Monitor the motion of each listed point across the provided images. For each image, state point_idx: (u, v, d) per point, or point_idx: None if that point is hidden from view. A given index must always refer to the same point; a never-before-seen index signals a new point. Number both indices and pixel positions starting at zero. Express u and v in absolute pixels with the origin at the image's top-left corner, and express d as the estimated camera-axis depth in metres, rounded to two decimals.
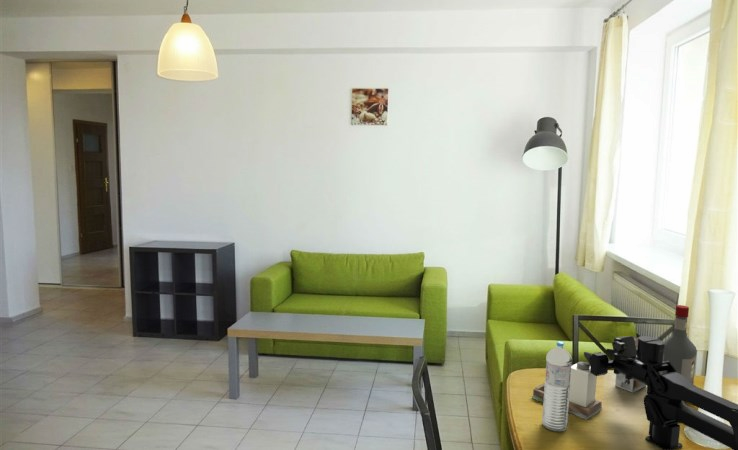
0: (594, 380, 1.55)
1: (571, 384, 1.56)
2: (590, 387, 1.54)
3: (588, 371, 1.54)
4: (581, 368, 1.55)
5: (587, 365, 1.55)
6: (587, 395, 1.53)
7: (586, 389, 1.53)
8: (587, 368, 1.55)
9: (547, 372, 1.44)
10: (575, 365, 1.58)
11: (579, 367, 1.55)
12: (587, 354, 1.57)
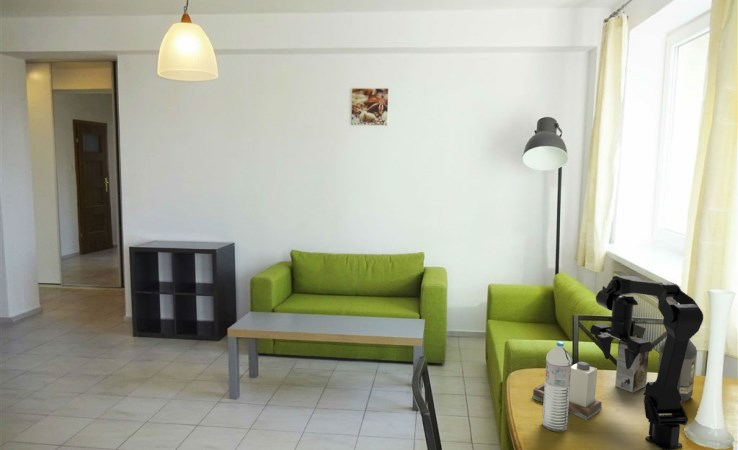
0: (594, 380, 1.55)
1: (571, 384, 1.56)
2: (590, 387, 1.54)
3: (588, 371, 1.54)
4: (581, 368, 1.55)
5: (587, 365, 1.55)
6: (587, 395, 1.53)
7: (586, 389, 1.53)
8: (587, 368, 1.55)
9: (547, 372, 1.44)
10: (575, 365, 1.58)
11: (579, 367, 1.55)
12: None
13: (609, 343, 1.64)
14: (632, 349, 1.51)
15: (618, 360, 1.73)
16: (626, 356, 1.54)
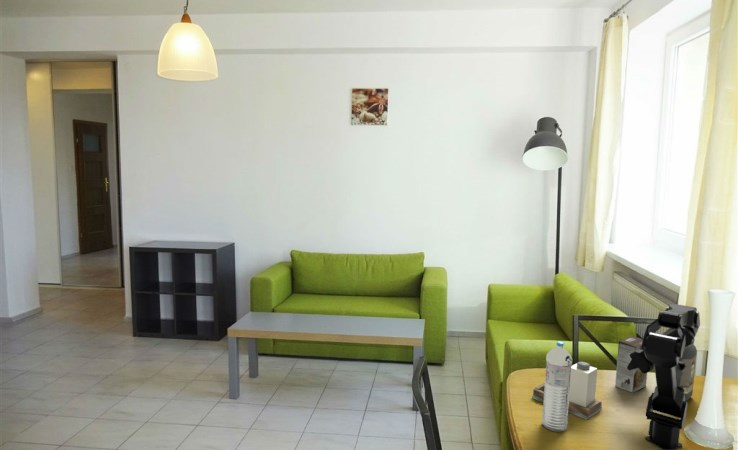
0: (594, 380, 1.55)
1: (571, 384, 1.56)
2: (590, 387, 1.54)
3: (588, 371, 1.54)
4: (581, 368, 1.55)
5: (587, 365, 1.55)
6: (587, 395, 1.53)
7: (586, 389, 1.53)
8: (587, 368, 1.55)
9: (547, 372, 1.44)
10: (575, 365, 1.58)
11: (579, 367, 1.55)
12: None
13: None
14: None
15: (618, 360, 1.73)
16: None
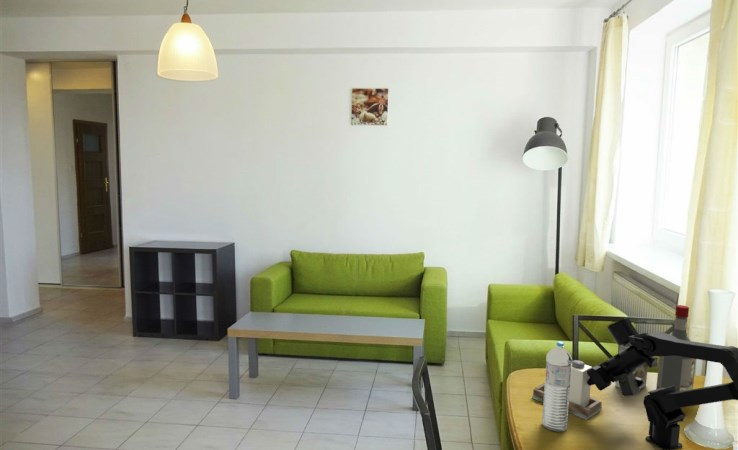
0: None
1: None
2: (585, 386, 1.55)
3: (583, 369, 1.55)
4: (576, 366, 1.56)
5: (582, 363, 1.56)
6: (581, 393, 1.54)
7: (581, 387, 1.54)
8: (582, 367, 1.56)
9: (547, 372, 1.44)
10: None
11: (574, 365, 1.56)
12: None
13: None
14: None
15: None
16: None
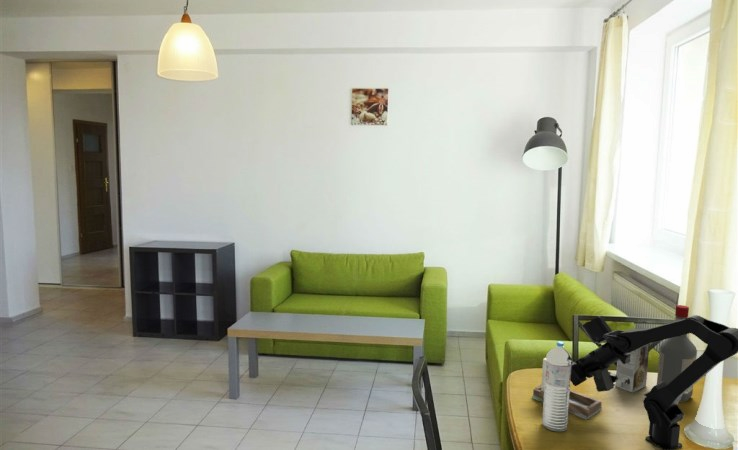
0: None
1: (545, 375, 1.63)
2: None
3: None
4: None
5: None
6: None
7: None
8: None
9: (547, 372, 1.44)
10: None
11: None
12: None
13: None
14: None
15: (618, 360, 1.73)
16: None
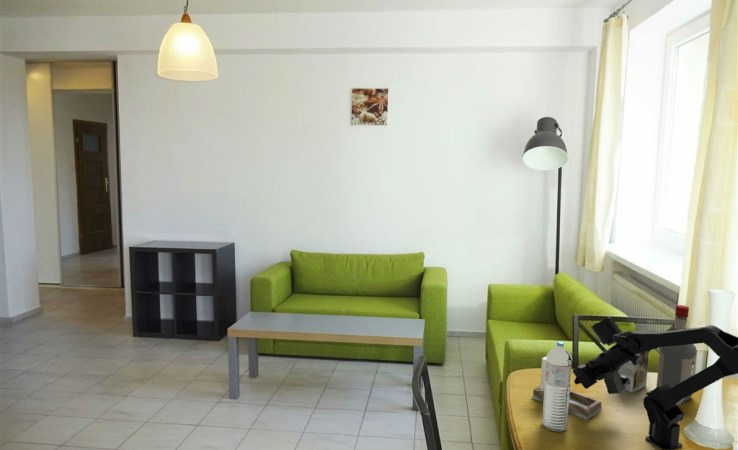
0: None
1: (544, 375, 1.63)
2: None
3: None
4: None
5: None
6: None
7: None
8: None
9: (547, 372, 1.44)
10: None
11: None
12: None
13: None
14: None
15: None
16: None
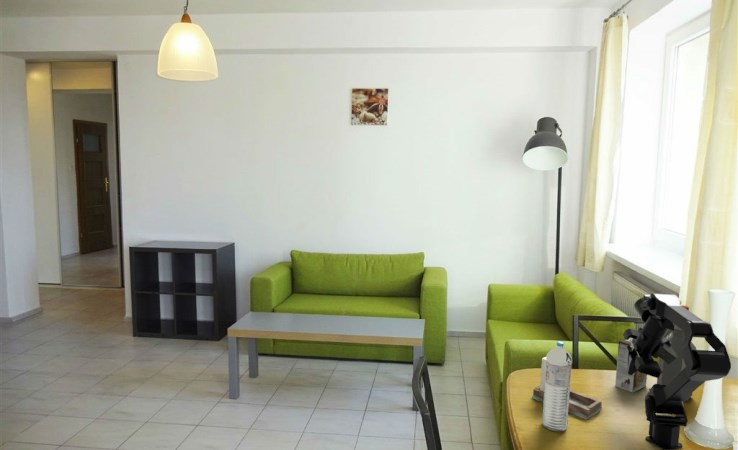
0: None
1: (544, 375, 1.63)
2: None
3: None
4: None
5: None
6: None
7: None
8: None
9: (547, 372, 1.44)
10: None
11: None
12: None
13: None
14: (636, 365, 1.43)
15: (618, 360, 1.73)
16: (629, 362, 1.50)
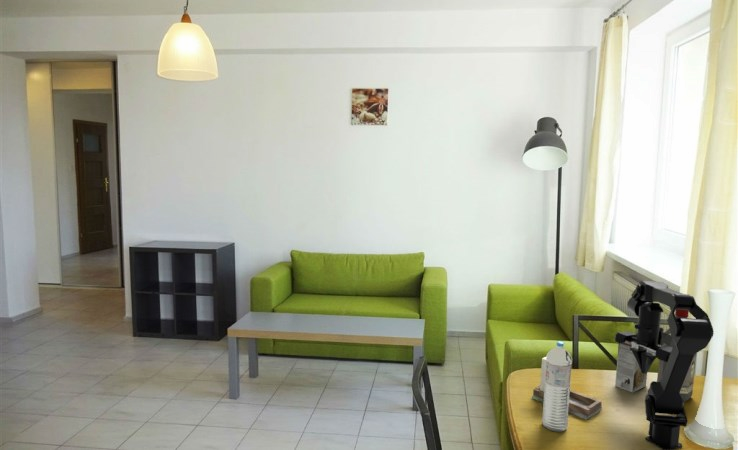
0: None
1: (544, 375, 1.63)
2: None
3: None
4: None
5: None
6: None
7: None
8: None
9: (547, 372, 1.44)
10: None
11: None
12: None
13: None
14: (661, 358, 1.45)
15: (618, 360, 1.73)
16: (643, 361, 1.51)
